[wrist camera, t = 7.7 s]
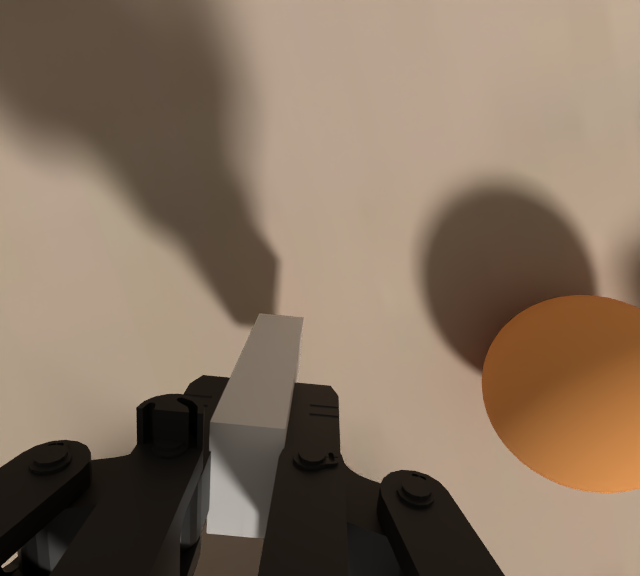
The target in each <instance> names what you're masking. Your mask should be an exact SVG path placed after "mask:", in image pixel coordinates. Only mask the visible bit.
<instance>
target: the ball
mask: <svg viewBox="0 0 640 576" xmlns="http://www.w3.org/2000/svg"><path fill="white" fill-rule="evenodd" d="M482 393H483V400H484V404H485V408H486V411H487V414H488V417H489V419H490V421H491V424H492V426H493V428H494V429H495V431H496V433H497V434H498V436H499V438H500V439H501V440H502V442H503V443H504V444H505V446H506V447H507V448H508V449H509V450H510V451H511V452H512V453H513V454H514V455H515V456H516V457H517V458H518V459H519V460H520V461H521V462H522V463H524V464H525V465H526V466H527V467H529V468H530V469H531V470H533V471H535V472H536V473H538V474H540V475H541V476H543V477H545V478H547V479H549V480H551V481H553V482H556V483H558V484H560V485H563V486H566V487H569V488H573V489H577V490H582V491H587V492H599V493H615V492H625V491H630V490H635V489H639V488H640V309H639V308H637V307H635V306H632V305H630V304H627V303H625V302H622V301H618V300H615V299H611V298H606V297H599V296H592V295H572V296H562V297H557V298H553V299H548V300H545V301H543V302H540V303H537V304H535V305H533V306H531V307H529V308H527V309H525V310H524V311H522V312H520V313H519V314H517V315H516V316H515V317H514V318H512V319H511V320H510V321H509V322H508V323H507V324H506V325H505V326H504V327H503V328H502V329H501V330H500V331H499V333H498V334H497V336H496V337H495V339H494V340H493V342H492V344H491V346H490V348H489V350H488V353H487V355H486V358H485V362H484V366H483V374H482Z"/></svg>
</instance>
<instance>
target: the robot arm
mask: <svg viewBox="0 0 640 576" xmlns="http://www.w3.org/2000/svg"><path fill="white" fill-rule="evenodd" d="M303 320H304V318H303V317H293V316H282V315H272V314H261V313H259V315H258V317H257V320H256V322H255V324H254V326H253V328H252V331H251V333H250V335H249V337H248V339H247V342H246V344H245V346H244V348H243V350H242V353H241V355H240V357H239V359H238V361H237V364H236V366H235V368H234V370H233V372H232V375H231V377H230V378H227V377H217V376H206V375H203V376H201V377H200V378H198V379H196V380H195V381H193V382H192V383H190V384H189V386H188V388H187V389H186V391H185V392H184V395H183V394H166V395H160V396H155V397H153V398H150V399H148V400H146V401H144V402H143V403H141V404H140V405H139V406H138V407H137V408H136V410H137V445H136V446H135V448H134V449H133V451H132V452H131V454H129V455H126V456H120V457H115V458H106V459H98V460H91V452H90V450H89V449H88V447H87V446H86V445H84V444H82V443H80V442H78V441H69V440H59V441H51V442H47V443H44V444H41V445H37V446H35V447H33V448H31V449H29V450H27V451H25V452H23V453H21V454H20V455H18V456H17V457H15V458H14V459H12V460H11V461H9V462H8V463H6V464H5V465H3V466H2V467H0V576H193V575H194V572H195V569H196V566H197V562H198V559H199V556H200V549H201V532H202V529H203V526H204V523H205V520H206V517H207V534H218V535H229V536H239V537H250V538H261V539H264V544H263V550H262V556H261V561H260V567H259V573H258V576H505V575H504V574H503V572H502V571H501V569H500V568H499V566H498V565H497V563H496V562H495V560H494V559H493V557H492V556H491V554H490V553H489V551H488V550H487V548H486V547H485V545H484V544H483V542H482V541H481V540H480V538H479V537H478V535H477V534H476V532H475V531H474V529H473V528H472V526H471V525H470V523H469V522H468V520H467V519H466V517H465V516H464V514H463V513H462V511H461V510H460V508H459V507H458V505H457V504H456V502H455V501H454V499H453V498H452V497H451V495H450V494H449V492H448V491H447V490H446V489H445V487H444V486H443V485H442V484H441V483H440V482H439V481H437V480H435V479H434V478H432V477H430V476H429V475H426V474H423V473H420V472H417V471H409V470H400V471H395V472H391V473H390V474H388V475H387V476H386V477H384V478H383V480H382V483H378V482H375V481H372V480H369V479H366V478H364V477H362V476H359V475H358V474H356V473H355V472H353V471H352V470H350V469H349V468H348V467H347V466H346V465H345V463H344V461H343V458H342V455H341V453H340V429H339V400H338V395H337V394H336V392H335V391H334V390H333V388H332V387H331V386H326V385H316V384H305V383H298V377H299V365H300V354H301V343H302V331H303ZM16 552H18V557H17V558H15V559H14V560H13V561H12V562H11V563H10V564H8V565H7V566H5V567H4V568H2V567H1V565H2V564H4V563H5V562H6V561H7V560H8V559H9V558H10V557H11V556H13V555H14V554H15V553H16Z"/></svg>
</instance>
